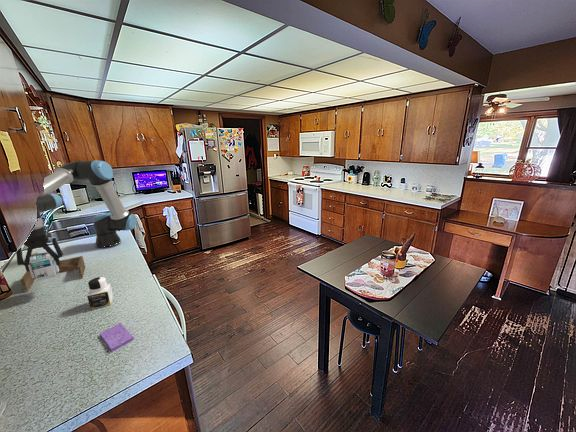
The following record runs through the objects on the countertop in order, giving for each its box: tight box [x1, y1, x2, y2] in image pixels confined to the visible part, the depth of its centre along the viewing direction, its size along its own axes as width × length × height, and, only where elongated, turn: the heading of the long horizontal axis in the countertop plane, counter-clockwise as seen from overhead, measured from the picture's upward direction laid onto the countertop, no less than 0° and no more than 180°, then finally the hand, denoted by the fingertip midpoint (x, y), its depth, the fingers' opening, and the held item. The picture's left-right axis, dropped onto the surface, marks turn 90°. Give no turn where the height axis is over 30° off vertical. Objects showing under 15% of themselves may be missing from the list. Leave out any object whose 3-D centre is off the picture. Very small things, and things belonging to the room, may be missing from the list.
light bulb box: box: [29, 250, 57, 282], centre depth 110 cm, size 11×7×11 cm, turn 46°
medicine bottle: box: [86, 276, 114, 310], centre depth 104 cm, size 7×7×12 cm
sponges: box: [99, 322, 135, 353], centre depth 86 cm, size 7×13×2 cm, turn 53°
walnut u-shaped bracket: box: [20, 255, 86, 293], centre depth 126 cm, size 22×17×7 cm
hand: (46, 274), depth 111 cm, fingers closed on light bulb box, 7 cm apart
